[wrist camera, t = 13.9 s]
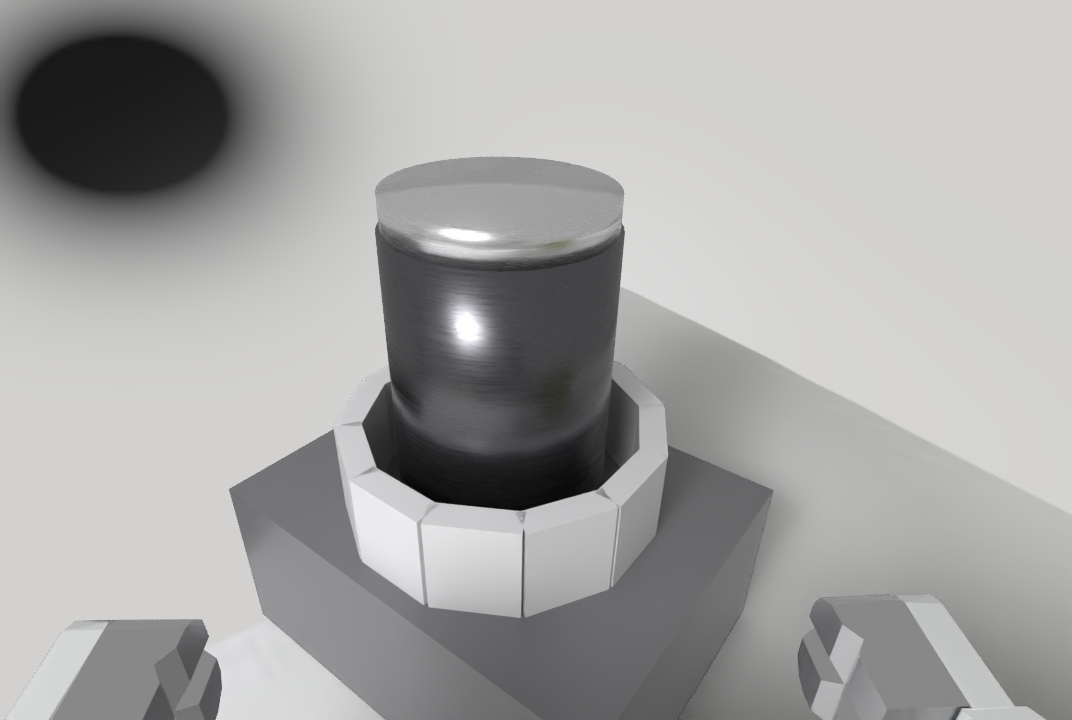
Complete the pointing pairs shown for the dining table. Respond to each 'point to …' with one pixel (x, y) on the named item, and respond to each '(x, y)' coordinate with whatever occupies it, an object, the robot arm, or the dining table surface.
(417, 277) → the dark grey metallic cylinder
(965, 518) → the dining table surface
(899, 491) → the dining table surface
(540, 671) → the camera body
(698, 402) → the dining table surface
